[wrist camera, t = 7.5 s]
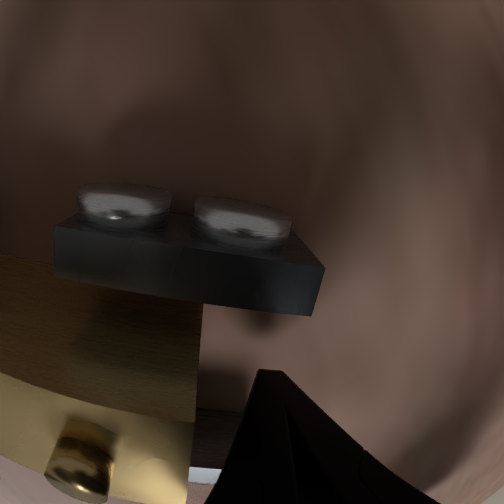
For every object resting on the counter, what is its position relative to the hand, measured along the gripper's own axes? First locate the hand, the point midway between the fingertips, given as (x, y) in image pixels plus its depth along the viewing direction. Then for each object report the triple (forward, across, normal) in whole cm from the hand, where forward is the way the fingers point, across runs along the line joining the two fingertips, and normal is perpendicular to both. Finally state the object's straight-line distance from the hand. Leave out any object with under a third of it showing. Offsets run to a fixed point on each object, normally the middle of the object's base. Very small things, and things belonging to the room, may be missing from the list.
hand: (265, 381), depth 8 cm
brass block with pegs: (+1, +8, 0) cm, 8 cm away
